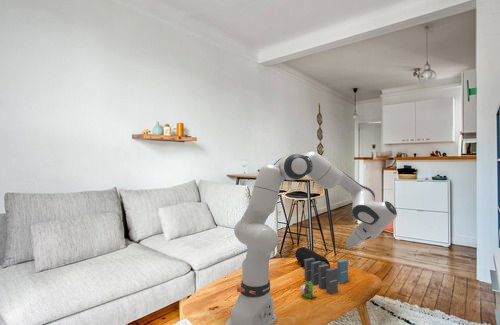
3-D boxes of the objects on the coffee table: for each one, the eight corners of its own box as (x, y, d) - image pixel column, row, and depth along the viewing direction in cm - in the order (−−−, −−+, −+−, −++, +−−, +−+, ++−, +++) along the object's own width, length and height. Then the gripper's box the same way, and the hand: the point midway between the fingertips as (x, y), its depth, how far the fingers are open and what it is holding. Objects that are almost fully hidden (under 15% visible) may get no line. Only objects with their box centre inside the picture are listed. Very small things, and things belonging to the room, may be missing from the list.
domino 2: (322, 282, 148) (321, 261, 148) (314, 285, 145) (313, 263, 145) (319, 281, 149) (319, 260, 150) (311, 283, 147) (310, 262, 147)
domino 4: (337, 291, 138) (337, 268, 138) (329, 293, 135) (328, 270, 135) (334, 289, 140) (334, 267, 140) (326, 292, 137) (325, 269, 137)
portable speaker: (294, 262, 179) (293, 246, 179) (307, 260, 182) (307, 245, 182) (316, 277, 155) (316, 259, 155) (331, 275, 158) (331, 257, 158)
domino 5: (348, 281, 149) (347, 260, 149) (340, 283, 146) (340, 262, 146) (345, 279, 151) (344, 259, 151) (337, 282, 148) (337, 261, 148)
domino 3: (329, 286, 143) (329, 265, 143) (321, 289, 140) (320, 267, 140) (327, 285, 145) (326, 263, 145) (318, 287, 142) (318, 265, 142)
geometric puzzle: (307, 285, 140) (302, 276, 136) (320, 289, 135) (315, 279, 132) (301, 299, 135) (296, 289, 132) (314, 303, 131) (309, 293, 127)
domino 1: (315, 279, 153) (314, 258, 153) (307, 281, 150) (306, 260, 150) (312, 277, 154) (312, 257, 154) (304, 280, 152) (304, 259, 152)
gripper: (376, 218, 141) (360, 234, 150) (353, 228, 129) (337, 245, 137) (385, 228, 138) (368, 244, 146) (363, 239, 126) (346, 256, 134)
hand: (353, 245), depth 141 cm, fingers open, 8 cm apart
